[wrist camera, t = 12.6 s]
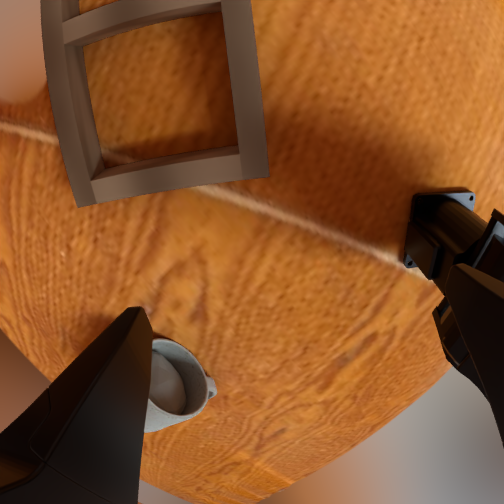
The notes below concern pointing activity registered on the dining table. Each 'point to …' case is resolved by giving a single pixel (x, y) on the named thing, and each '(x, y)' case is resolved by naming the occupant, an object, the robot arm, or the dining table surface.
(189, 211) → the dining table surface
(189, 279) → the dining table surface
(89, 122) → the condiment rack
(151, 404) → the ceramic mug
